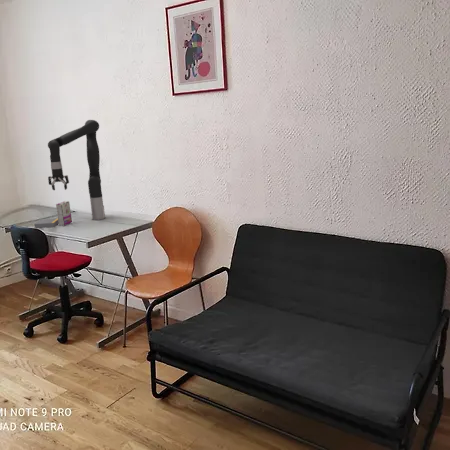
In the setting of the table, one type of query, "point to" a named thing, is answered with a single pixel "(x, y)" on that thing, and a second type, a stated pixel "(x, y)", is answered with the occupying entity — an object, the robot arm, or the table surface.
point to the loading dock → (46, 223)
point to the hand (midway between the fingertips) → (59, 189)
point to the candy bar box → (64, 213)
